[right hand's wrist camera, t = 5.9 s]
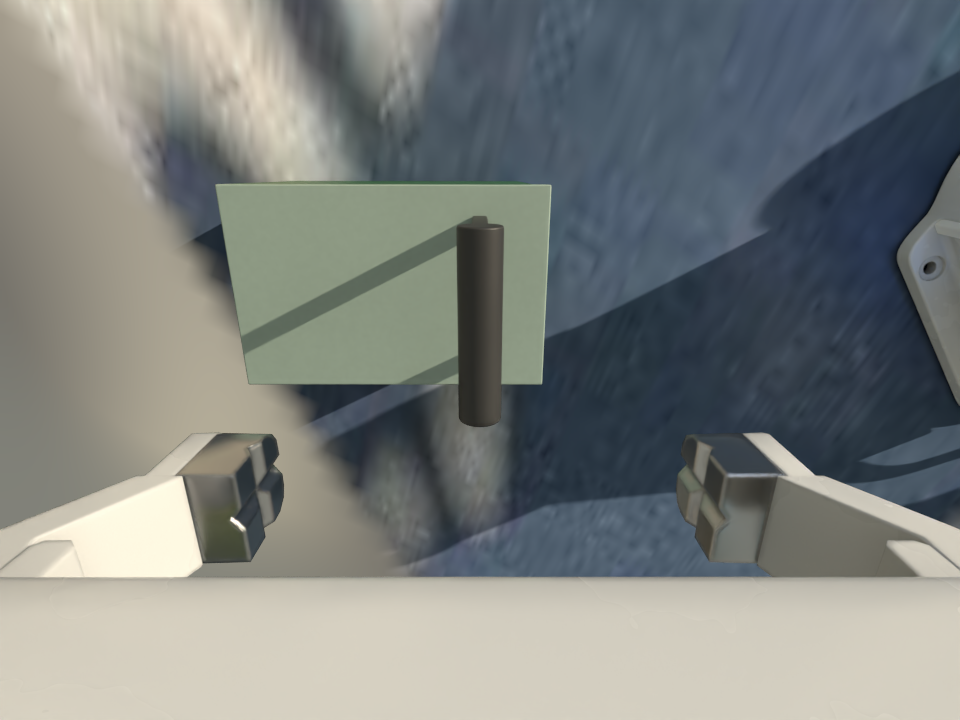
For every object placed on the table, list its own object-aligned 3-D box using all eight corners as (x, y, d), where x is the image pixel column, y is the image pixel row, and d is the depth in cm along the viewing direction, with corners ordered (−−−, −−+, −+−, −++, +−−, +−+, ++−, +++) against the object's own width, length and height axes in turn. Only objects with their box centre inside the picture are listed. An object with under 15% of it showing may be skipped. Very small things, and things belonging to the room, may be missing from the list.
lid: (548, 184, 24) (580, 189, 17) (539, 376, 28) (563, 455, 20) (225, 183, 24) (108, 188, 17) (257, 376, 28) (171, 455, 20)
